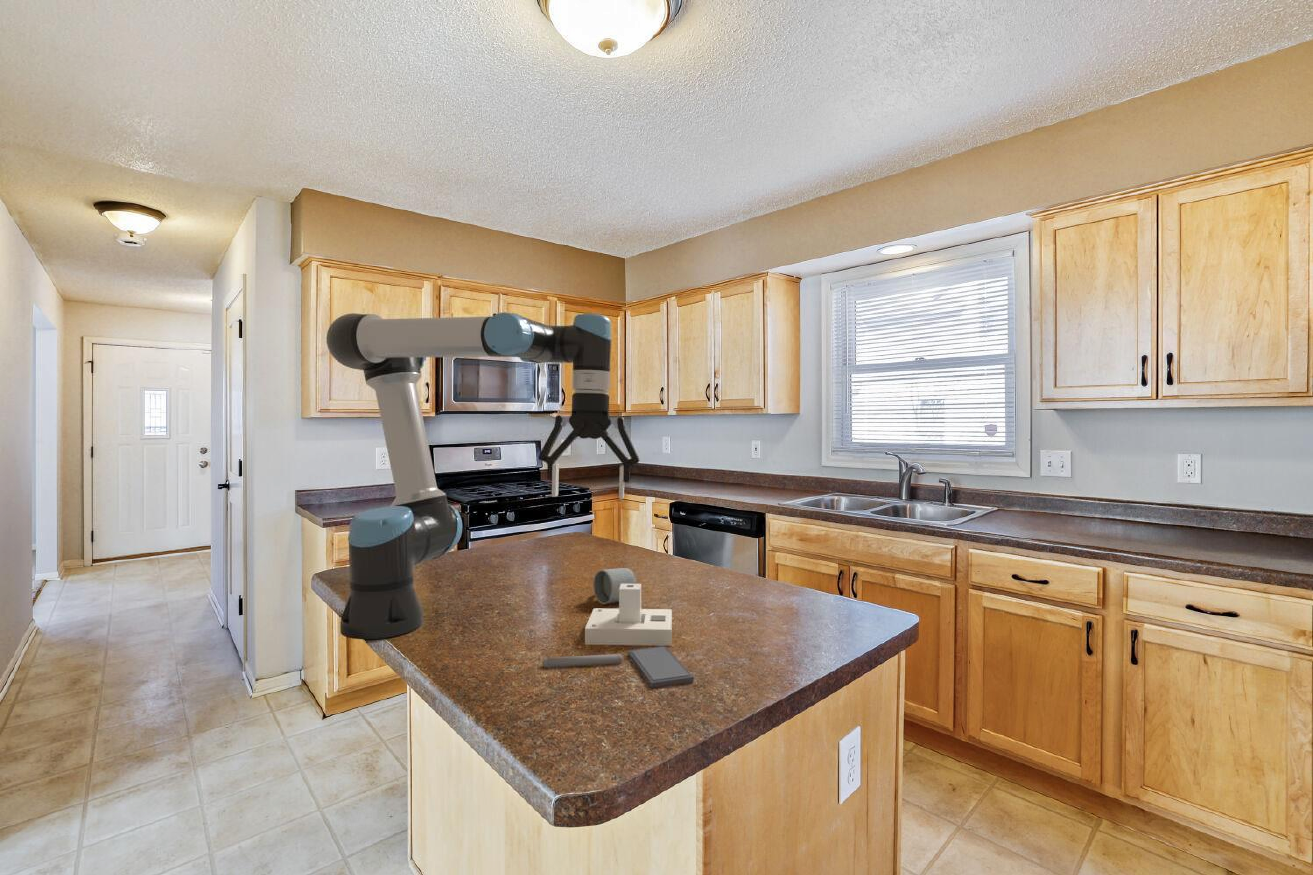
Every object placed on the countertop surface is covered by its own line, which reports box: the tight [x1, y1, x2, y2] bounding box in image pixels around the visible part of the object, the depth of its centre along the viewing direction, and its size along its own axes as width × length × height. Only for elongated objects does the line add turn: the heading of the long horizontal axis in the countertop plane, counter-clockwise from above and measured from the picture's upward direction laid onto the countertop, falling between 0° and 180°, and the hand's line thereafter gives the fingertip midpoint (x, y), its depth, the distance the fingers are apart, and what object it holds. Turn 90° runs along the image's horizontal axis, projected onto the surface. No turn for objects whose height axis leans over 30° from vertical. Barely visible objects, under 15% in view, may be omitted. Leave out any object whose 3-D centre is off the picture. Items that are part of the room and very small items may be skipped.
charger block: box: [618, 583, 642, 623], centre depth 119 cm, size 4×4×9 cm
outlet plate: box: [584, 607, 673, 647], centre depth 119 cm, size 16×12×3 cm
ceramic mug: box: [592, 567, 639, 605], centre depth 142 cm, size 11×8×8 cm
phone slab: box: [627, 646, 695, 689], centre depth 103 cm, size 7×14×1 cm, turn 18°
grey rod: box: [542, 653, 624, 669], centre depth 104 cm, size 14×2×2 cm, turn 98°
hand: (588, 497), depth 124 cm, fingers open, 13 cm apart
